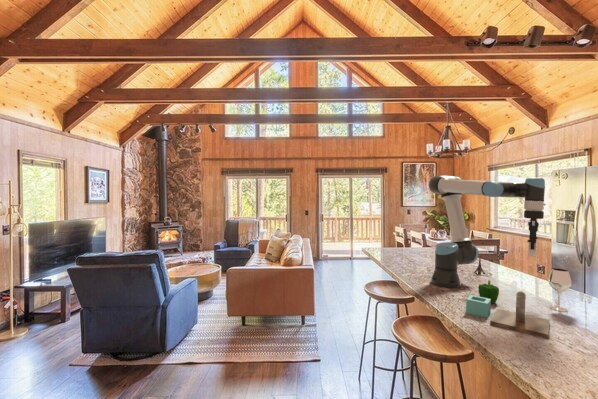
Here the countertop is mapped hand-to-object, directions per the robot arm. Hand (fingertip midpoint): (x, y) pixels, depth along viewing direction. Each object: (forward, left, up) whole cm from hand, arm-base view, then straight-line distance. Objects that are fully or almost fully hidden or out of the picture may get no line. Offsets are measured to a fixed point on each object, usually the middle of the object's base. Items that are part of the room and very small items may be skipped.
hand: (531, 254), depth 149 cm
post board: (-1, -35, -23) cm, 42 cm away
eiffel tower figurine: (-29, +47, -24) cm, 60 cm away
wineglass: (+11, -2, -24) cm, 26 cm away
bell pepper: (-15, -13, -24) cm, 31 cm away
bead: (-16, -33, -23) cm, 43 cm away
